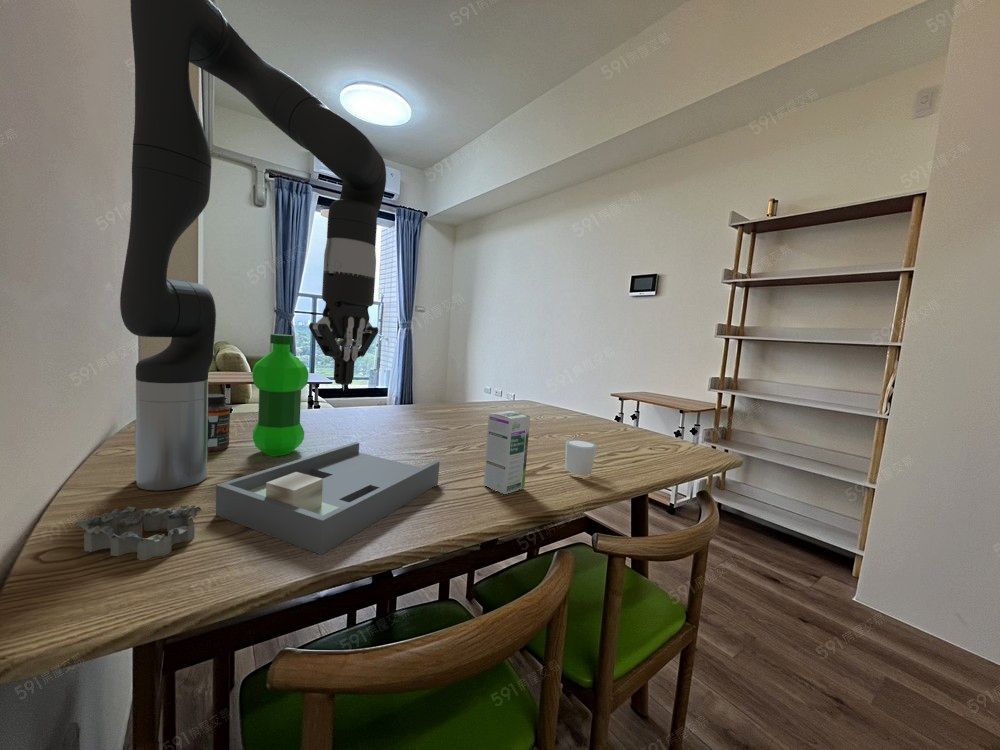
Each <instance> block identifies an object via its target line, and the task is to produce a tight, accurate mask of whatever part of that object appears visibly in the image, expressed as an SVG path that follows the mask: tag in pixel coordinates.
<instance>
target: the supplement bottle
mask: <svg viewBox="0 0 1000 750" xmlns="http://www.w3.org/2000/svg"><path fill="white" fill-rule="evenodd" d="M230 418H231V408H230V406H229V405H228V404H227V403H226V395H225V394H222V393H208V442H207V452H215V451H216V452H217V451H222V450H224V449H226V448H228V447H229V446H230V429H231V428H230V426H231V425H230V424H231V420H230Z"/></svg>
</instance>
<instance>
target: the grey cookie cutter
mask: <svg viewBox="0 0 1000 750" xmlns="http://www.w3.org/2000/svg"><path fill="white" fill-rule="evenodd" d="M201 511H202V508H201V507H200V506H196V505H193V504H192V505H188V504H186V505H180V507H179V508H174V507H169V508H168V509H167V508H166V509H164V508H160V507H158V508H157V507H156V508H154V507H153V508H143V509H140V510H138V508H137V507H136V506H130V505H127V506H126V507H125V509H124V510H122V511H120V510H119V509H118V508H115V509H113V510H112V511H111V512H105V513H103V514H100V515H94V516H93V517H92V518H91V519H87V520H81V521H75V523H76V524H77V525H78V526H79V528H81V529H83V530H85V532H84V534H83V549H84V552H86V551H89V552H88V553H93V552H95V551H99V550H103V549H104V550H105V549H110V556H113V557H115V556H116V557H119V556H122V555H125V554H126V555H127V554H129V553H130V554H131V553H136V554H137V560H141V561H143V560H144V561H146V560H148V559H151V558H154V557H160V556H161V557H163V556H166V555H168V554H169V553H172V545H175V544H177V543H183V542H184V543H185V542H190V541H192V540H194V538H195V521H194V518H196V516H197V515H198V514H199V513H200V512H201ZM161 529H166V530H167V536H166V535H165V534H164V533H163V534H161V535H160V534H154V535H152V536H149V537H147V538H146V537H145V538H144V537H143V530H144V531H148V532H151V531H157V530H161ZM92 551H93V552H92Z"/></svg>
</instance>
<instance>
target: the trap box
mask: <svg viewBox="0 0 1000 750" xmlns="http://www.w3.org/2000/svg"><path fill="white" fill-rule="evenodd" d="M294 472H299V473H303V474H307V475H310V476H314V477H318V478H322V479H323V488H322V506H320V507H318V508H315V509H313V510H311V511H308V510H305V509H302V508H299V507H296V506H293V505H290V504H287V503H284V502H281V501H277V500H274V499H271V498H268V497H266V482H269V481H272V480H275V479H278V478H280V477H283V476H286V475H289V474H292V473H294ZM439 473H440V460H439V461H438V460H433V461H431V462H428V463H426V464H425V465H423V466H421V467H420V466H418V465H417V466H416V465H414V464H413V465H412V464H408V463H403V462H400V461H396V460H391V459H388V458H383V457H379V456H375V455H372V454H367V453H362V452H360V442H357V441H354V442H352V443H348V444H345V445H342V446H338V447H335V448H332V449H329V450H324V451H321V452H319V453H316V454H315V453H314V454H312V455H309V456H306V457H302V458H299V459H295V460H292V461H289V462H287V463H283V464H280V465H279V464H278V465H277V466H273V467H270V468H266V469H263V470H260V471H257V472H256V471H255V472H254V473H250V474H247V475H243V476H241V477H237V478H234V479H231V480H227V481H224V482H221V483H217V484H216V485H215V516H218V517H219V518H223V519H225V520H227V521H230V522H233V523H236V524H239V525H241V526H245V527H247V528H249V529H252V530H254V531H258V532H260V533H263V534H265V535H268V536H269V537H272V538H275V539H279V540H281V541H284V542H286V543H290V544H292V545H294V546H296V547H299V548H302V549H305V550H308V551H310V552H313V553H315V554H317V555H320V556H322V555H323V554H325V553H327V552H328V551H330V550H332V549H333V548H335V547H337V546H338V545H340V544H342V543H343V542H346V541H347V540H348V539H350V538H351V537H353V536H355V535H356V534H358V533H360V532H361V531H363V530H365V529H366V528H368V527H370V526H372V525H373V524H375V523H376V522H378V521H380V520H381V519H383V518H385V517H387V516H388V515H390V514H392V513H393V512H395V511H397V510H399V509H400V508H401V507H403V506H405V505H406V504H409V503H410V502H412V501H413V500H414V499H416V498H418V497H420V496H421V495H423V494H425V493H427V492H428V491H430V490H431V489H433V488H434V486H435V485H436V486H438V485H439ZM437 484H438V485H437ZM436 486H435V487H436ZM432 487H433V488H432ZM429 489H430V490H429ZM427 490H428V491H427ZM424 492H425V493H424ZM419 495H420V496H419Z"/></svg>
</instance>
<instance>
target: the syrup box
mask: <svg viewBox="0 0 1000 750" xmlns="http://www.w3.org/2000/svg"><path fill="white" fill-rule="evenodd" d="M530 423H531V416H530V415H528V414H526V413H522V412H518V411H512V410H507V411H500V412H494V413H493V412H492V413H491V412H490V413H489V414H488V424H487V434H486V445H485V446H486V448H485V451H486V452H485V461H484V476H483V477H484V478H483V486H484V485H485V486H487V487H490V488H492V489H494V490H497V491H499V492H501V493H503V494H507V495H508V493H509V494H511V493H514V492H518V491H520V490H522V489H521V488H523V487H524V488H525V484H526V483H525V482H526V473H527V472H526V470H527V459H528V458H527V457H528V448H529V447H528V446H529V435H530ZM485 486H484V487H485ZM487 487H486V488H487ZM524 488H523V489H524ZM519 489H520V490H519ZM503 494H502V495H503Z"/></svg>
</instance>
